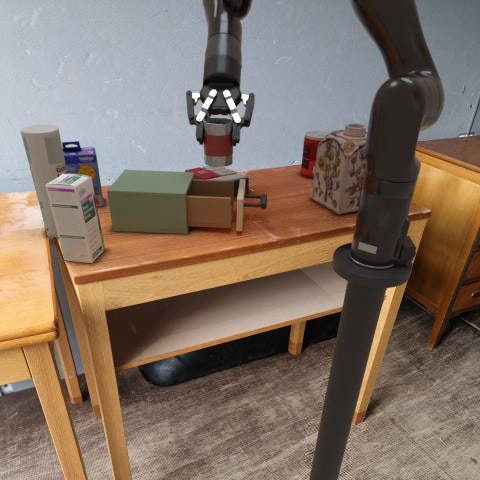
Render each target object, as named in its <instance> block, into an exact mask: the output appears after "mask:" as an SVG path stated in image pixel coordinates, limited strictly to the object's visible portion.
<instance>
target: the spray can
mask: <svg viewBox="0 0 480 480" xmlns="http://www.w3.org/2000/svg"><path fill="white" fill-rule="evenodd" d="M60 133H61V132H60V129H59V127H58V126H56V125H52V124H35V125H29V126H24V127H22V128H20V135H21V139H22V143H23V148H24V151H25V154H26V160H27V163H28V166H29V170H30V174H31V177H32V182H33V186H34V189H35V194H36V197H37V201H38V205H39V210H40V212H41V217H42V221H43V225H44V229H45V231H46V233H47V236H48V237H51V238H57V239H59V237H58V233H57V229H56V226H55V222H54V218H53V214H52V210H51V206H50V202H49V198H48V194H47V190H46V186H45V185H46V184H47V183H50V182H51V181H53V180H54V179H56V178H58V177H59V176H61V175H62V174H67V169H66V164H65V159H64V154H63V147H62V138H61V134H60Z"/></svg>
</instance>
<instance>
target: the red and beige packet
mask: <svg viewBox="0 0 480 480" xmlns="http://www.w3.org/2000/svg"><path fill="white" fill-rule="evenodd" d="M184 172H194V178H195V179H200V180H225V181H234V196H238V190H239V183H240V179H245V194H246V193H249V191H250V184H249V183H250V179H249V177H248V176H246V175H245V174H241V173H238V171H236V170H233V169H230V168H228V167H226V166H225V167H213V166H208V165H205V166H202V167H201V166H199V167H195V168H194V167H193V168H189V169H185V170H184Z"/></svg>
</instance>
